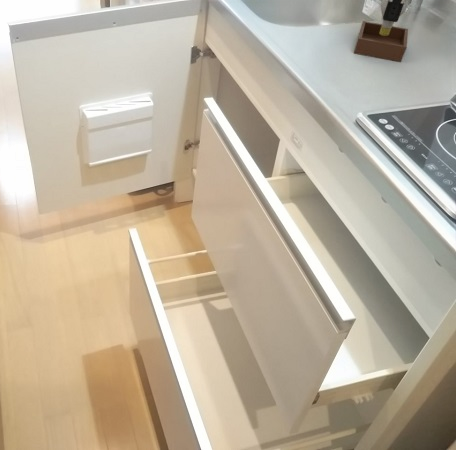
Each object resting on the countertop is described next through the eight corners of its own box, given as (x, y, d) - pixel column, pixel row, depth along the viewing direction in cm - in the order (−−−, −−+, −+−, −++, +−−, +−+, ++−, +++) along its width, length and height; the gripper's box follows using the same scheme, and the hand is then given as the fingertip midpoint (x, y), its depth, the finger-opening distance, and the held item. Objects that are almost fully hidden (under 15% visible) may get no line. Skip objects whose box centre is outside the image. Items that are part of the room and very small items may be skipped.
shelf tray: (402, 43, 124) (408, 28, 122) (400, 62, 116) (406, 47, 114) (358, 35, 127) (362, 20, 124) (353, 53, 119) (358, 38, 117)
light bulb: (395, 42, 117) (411, -3, 110) (370, 38, 118) (385, -7, 112) (395, 34, 121) (411, -11, 114) (371, 30, 122) (386, -15, 115)
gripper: (442, -63, 97) (406, 32, 110) (440, -82, 109) (409, 6, 121) (400, -68, 99) (370, 26, 111) (403, -86, 111) (375, 1, 123)
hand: (390, 15), depth 116 cm, fingers closed on light bulb, 5 cm apart
